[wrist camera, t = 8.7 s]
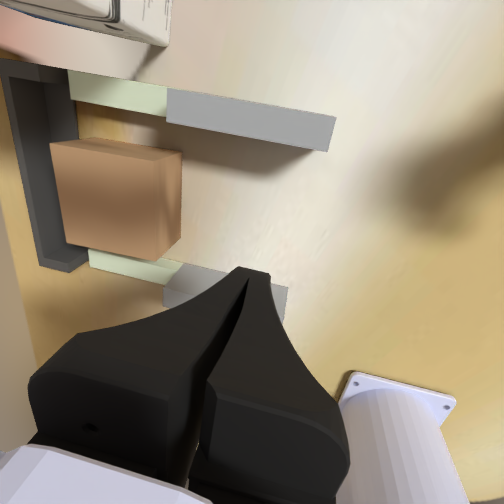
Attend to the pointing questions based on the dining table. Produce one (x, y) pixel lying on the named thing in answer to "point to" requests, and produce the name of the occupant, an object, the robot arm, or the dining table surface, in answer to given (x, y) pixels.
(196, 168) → the dining table surface
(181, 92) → the grey rectangular slabs
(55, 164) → the block
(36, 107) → the dark grey u-shaped bracket
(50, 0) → the ink box
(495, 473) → the dining table surface
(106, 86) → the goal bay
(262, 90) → the dining table surface
